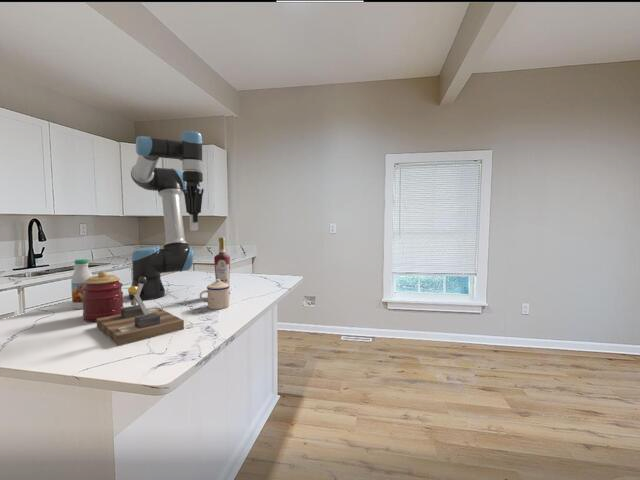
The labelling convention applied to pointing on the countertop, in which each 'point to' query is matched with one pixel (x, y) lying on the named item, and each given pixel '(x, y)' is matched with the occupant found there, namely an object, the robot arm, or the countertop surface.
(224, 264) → the liquor
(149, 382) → the countertop surface
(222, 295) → the teacup with lid
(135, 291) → the front lever
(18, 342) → the countertop surface
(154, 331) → the brown wooden base
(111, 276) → the canister
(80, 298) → the milk bottle
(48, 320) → the countertop surface
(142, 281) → the rear lever
